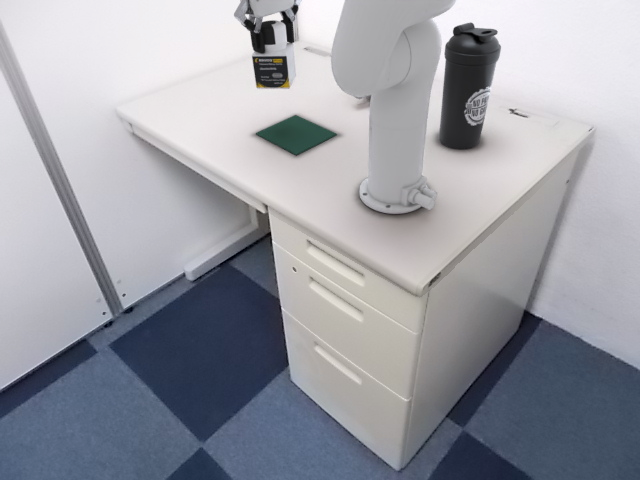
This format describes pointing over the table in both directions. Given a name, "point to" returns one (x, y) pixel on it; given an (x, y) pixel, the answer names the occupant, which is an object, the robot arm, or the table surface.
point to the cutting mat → (296, 134)
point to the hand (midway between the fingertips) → (274, 46)
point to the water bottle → (467, 84)
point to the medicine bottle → (274, 58)
